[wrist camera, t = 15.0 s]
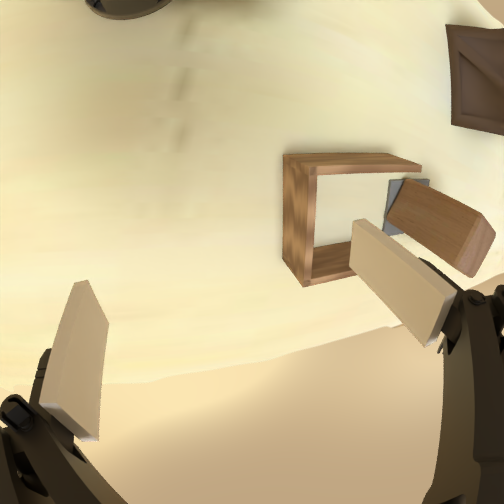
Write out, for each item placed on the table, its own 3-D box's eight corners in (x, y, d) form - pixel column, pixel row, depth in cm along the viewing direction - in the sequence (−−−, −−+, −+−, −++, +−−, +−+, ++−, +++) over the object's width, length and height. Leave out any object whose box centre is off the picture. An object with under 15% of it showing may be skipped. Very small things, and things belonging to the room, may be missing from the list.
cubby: (283, 154, 42) (309, 166, 35) (387, 153, 47) (421, 165, 39) (282, 259, 51) (303, 287, 44) (377, 241, 56) (404, 262, 48)
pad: (389, 179, 50) (391, 180, 49) (427, 178, 52) (429, 179, 52) (381, 235, 56) (383, 237, 55) (418, 229, 58) (420, 230, 58)
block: (428, 195, 54) (498, 233, 37) (408, 234, 57) (473, 281, 40) (404, 175, 49) (484, 213, 33) (382, 219, 53) (455, 269, 36)
